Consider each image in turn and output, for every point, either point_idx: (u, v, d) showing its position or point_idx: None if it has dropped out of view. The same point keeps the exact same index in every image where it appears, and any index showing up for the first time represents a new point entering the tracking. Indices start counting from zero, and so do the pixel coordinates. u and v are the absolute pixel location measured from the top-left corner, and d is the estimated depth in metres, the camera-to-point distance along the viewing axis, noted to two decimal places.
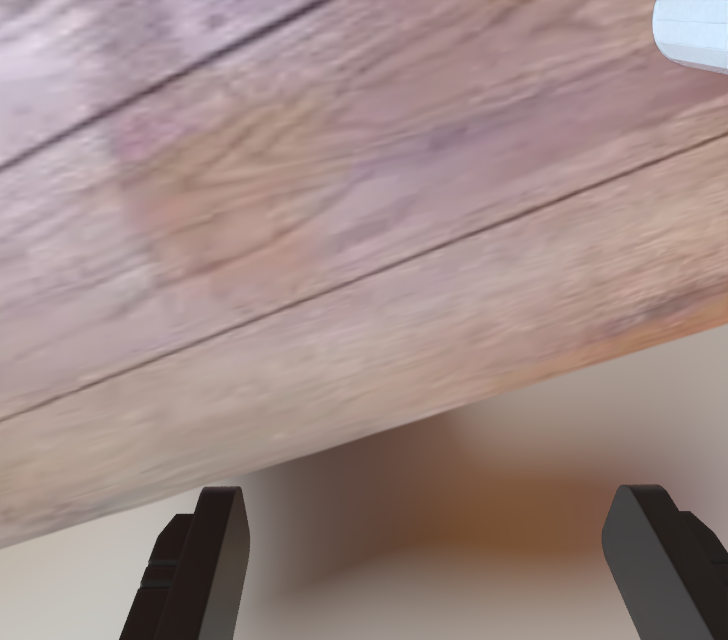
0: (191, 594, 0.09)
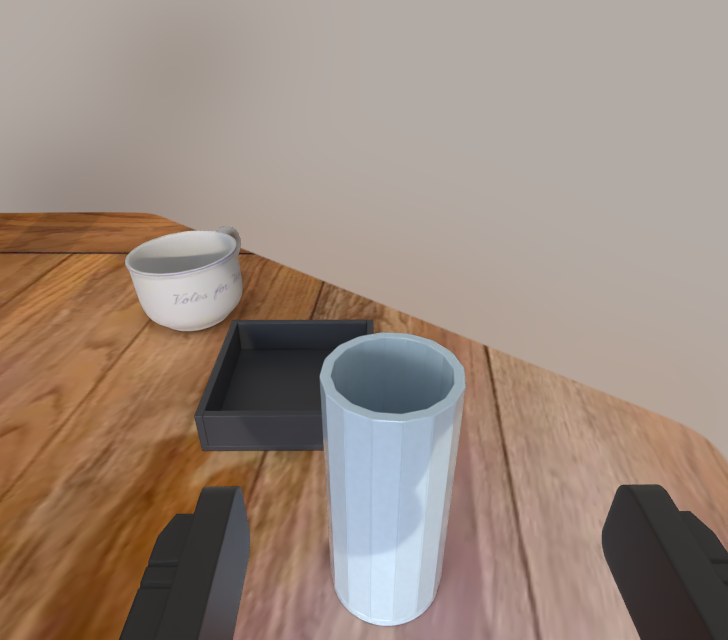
0: (191, 594, 0.09)
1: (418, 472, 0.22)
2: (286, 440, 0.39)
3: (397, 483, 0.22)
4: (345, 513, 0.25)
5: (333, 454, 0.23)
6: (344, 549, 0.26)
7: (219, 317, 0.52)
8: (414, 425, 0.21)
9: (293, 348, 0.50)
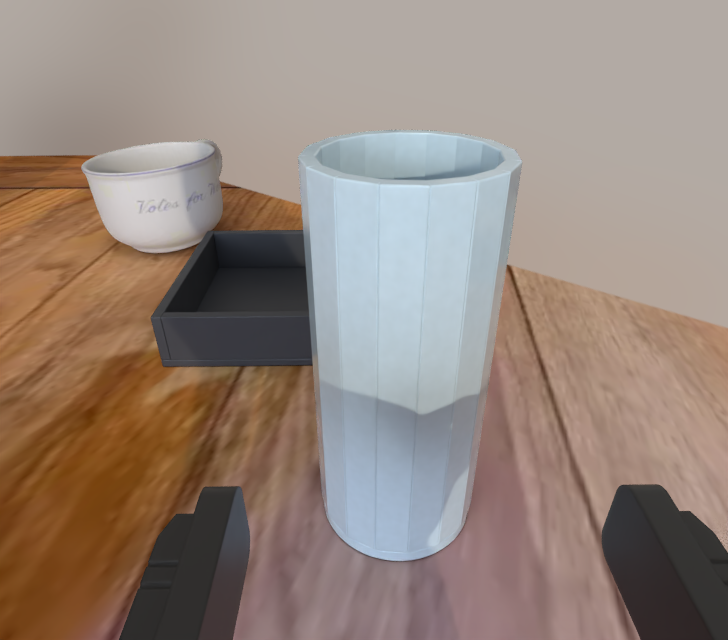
0: (191, 594, 0.09)
1: (450, 293, 0.14)
2: (268, 351, 0.31)
3: (418, 312, 0.14)
4: (339, 380, 0.17)
5: (320, 280, 0.16)
6: (338, 444, 0.18)
7: (194, 235, 0.44)
8: (447, 197, 0.13)
9: (280, 266, 0.42)
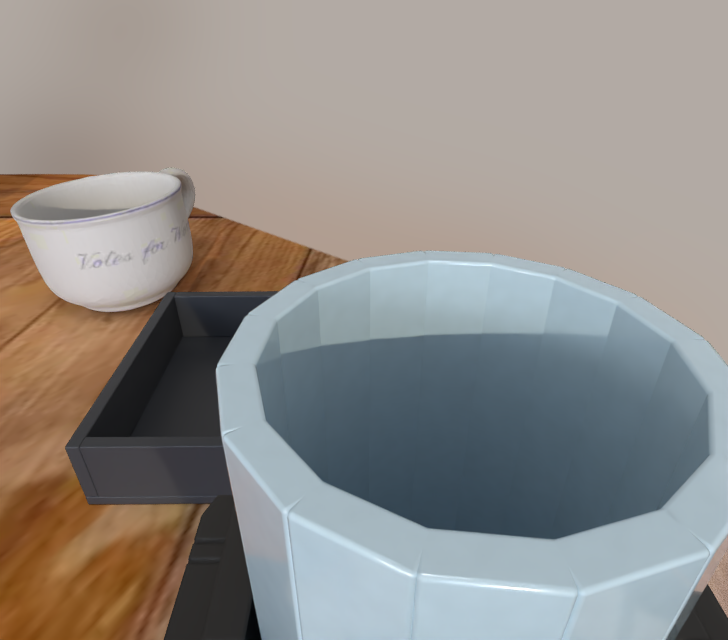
0: (240, 568, 0.09)
1: None
2: None
3: None
4: None
5: (269, 631, 0.07)
6: None
7: (154, 291, 0.36)
8: (622, 600, 0.04)
9: None
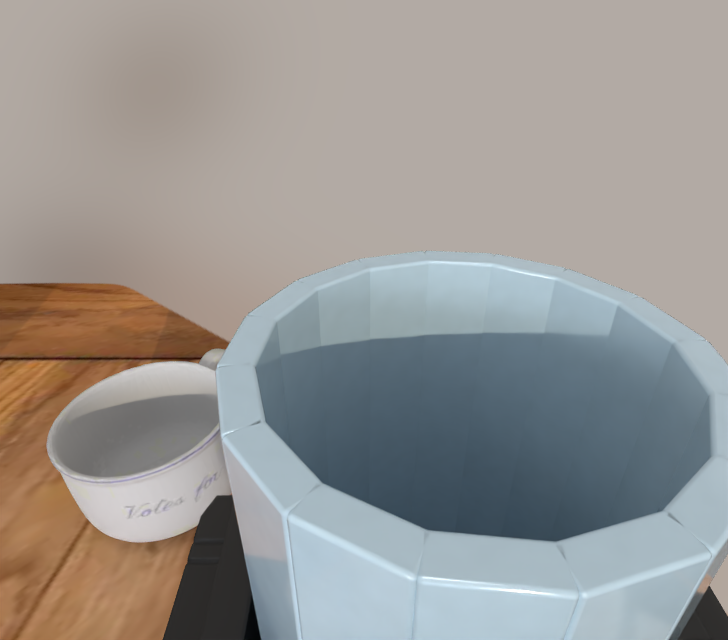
0: (239, 568, 0.09)
1: None
2: None
3: None
4: None
5: (269, 632, 0.07)
6: None
7: None
8: (624, 604, 0.04)
9: None
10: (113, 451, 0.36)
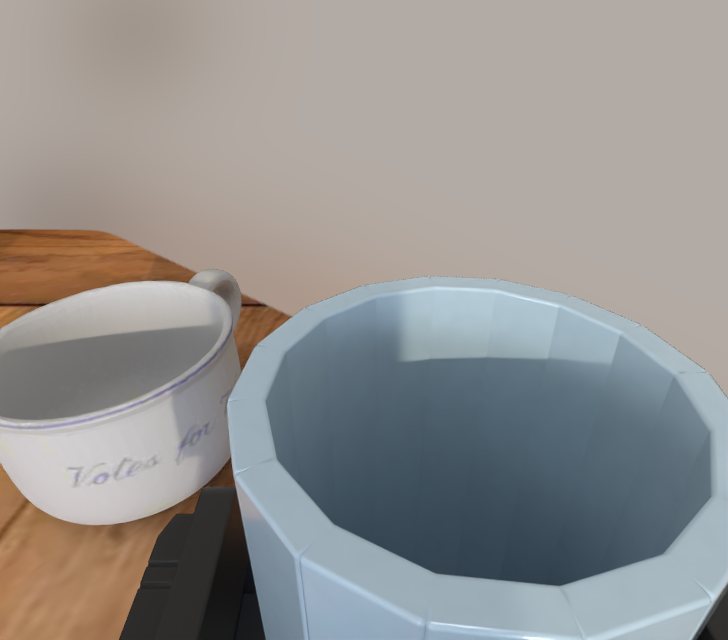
0: (191, 594, 0.09)
1: None
2: None
3: None
4: None
5: None
6: None
7: (192, 493, 0.22)
8: None
9: None
10: (69, 404, 0.27)
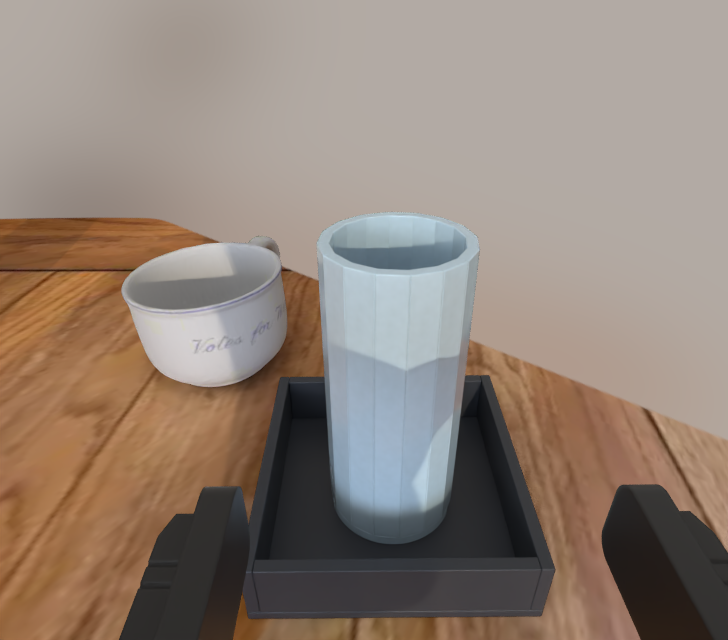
0: (191, 594, 0.09)
1: (427, 345, 0.20)
2: (392, 604, 0.23)
3: (403, 358, 0.20)
4: (346, 405, 0.22)
5: (332, 333, 0.21)
6: (344, 453, 0.24)
7: (257, 368, 0.36)
8: (422, 282, 0.18)
9: None
10: None
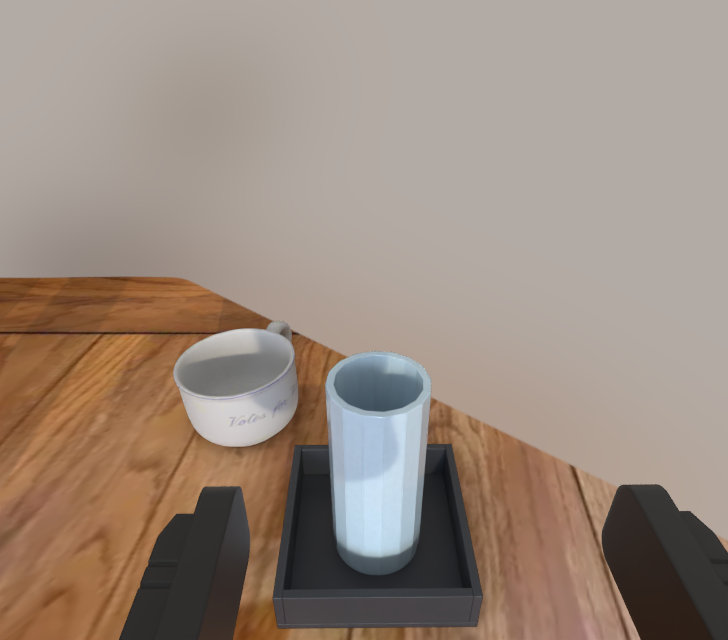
0: (191, 594, 0.09)
1: (396, 454, 0.31)
2: (375, 619, 0.34)
3: (381, 462, 0.31)
4: (344, 486, 0.33)
5: (335, 441, 0.32)
6: (343, 514, 0.35)
7: (276, 433, 0.47)
8: (392, 420, 0.29)
9: None
10: (205, 392, 0.52)
